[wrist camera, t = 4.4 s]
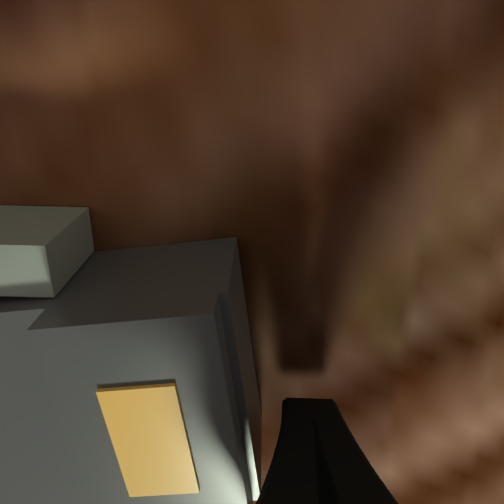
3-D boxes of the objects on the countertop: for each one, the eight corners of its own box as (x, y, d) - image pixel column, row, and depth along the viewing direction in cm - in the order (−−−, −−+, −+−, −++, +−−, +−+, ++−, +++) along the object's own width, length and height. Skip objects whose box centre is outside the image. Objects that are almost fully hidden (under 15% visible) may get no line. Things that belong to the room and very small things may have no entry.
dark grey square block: (236, 233, 12) (223, 315, 8) (261, 409, 14) (260, 534, 11) (-15, 258, 12) (-135, 346, 9) (49, 424, 15) (-24, 549, 11)
